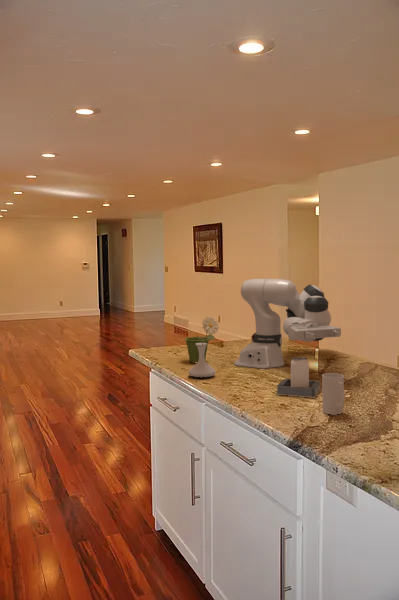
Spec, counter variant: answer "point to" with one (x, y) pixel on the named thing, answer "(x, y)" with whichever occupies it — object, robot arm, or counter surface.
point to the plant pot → (195, 348)
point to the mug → (333, 393)
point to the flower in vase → (202, 367)
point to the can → (300, 372)
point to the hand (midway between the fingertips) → (326, 335)
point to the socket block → (298, 389)
